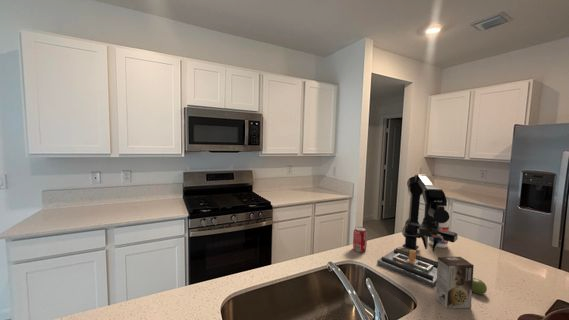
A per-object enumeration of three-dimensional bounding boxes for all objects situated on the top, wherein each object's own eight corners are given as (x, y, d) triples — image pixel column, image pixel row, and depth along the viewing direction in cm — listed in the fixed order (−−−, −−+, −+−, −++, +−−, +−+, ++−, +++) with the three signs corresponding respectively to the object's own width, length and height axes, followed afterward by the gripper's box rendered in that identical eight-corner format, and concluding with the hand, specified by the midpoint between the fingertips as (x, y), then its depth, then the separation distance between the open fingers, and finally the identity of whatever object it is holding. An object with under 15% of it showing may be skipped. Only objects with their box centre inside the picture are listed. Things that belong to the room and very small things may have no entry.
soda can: (364, 247, 133) (365, 226, 132) (367, 253, 126) (368, 231, 125) (351, 246, 134) (352, 226, 133) (354, 252, 127) (355, 230, 126)
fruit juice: (447, 244, 140) (450, 197, 138) (447, 249, 132) (450, 200, 131) (429, 240, 145) (431, 195, 144) (427, 245, 138) (430, 197, 136)
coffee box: (457, 297, 91) (460, 256, 90) (471, 308, 84) (475, 265, 83) (434, 297, 90) (437, 256, 89) (446, 308, 84) (449, 264, 83)
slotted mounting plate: (381, 259, 115) (381, 257, 115) (396, 250, 126) (397, 247, 126) (432, 280, 98) (432, 276, 98) (444, 266, 109) (445, 263, 109)
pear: (477, 282, 91) (454, 273, 101) (479, 297, 90) (455, 286, 100) (489, 281, 92) (465, 272, 102) (491, 295, 91) (467, 285, 101)
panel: (395, 252, 128) (396, 246, 128) (448, 271, 110) (448, 264, 109) (377, 264, 115) (377, 257, 114) (433, 287, 97) (433, 279, 96)
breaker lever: (409, 260, 114) (409, 248, 114) (417, 263, 111) (418, 251, 111) (406, 262, 113) (407, 250, 112) (415, 265, 110) (416, 253, 109)
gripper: (402, 214, 107) (400, 247, 108) (451, 225, 93) (448, 264, 94) (412, 210, 114) (410, 241, 115) (459, 220, 100) (456, 255, 101)
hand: (429, 250), depth 106 cm, fingers open, 3 cm apart
